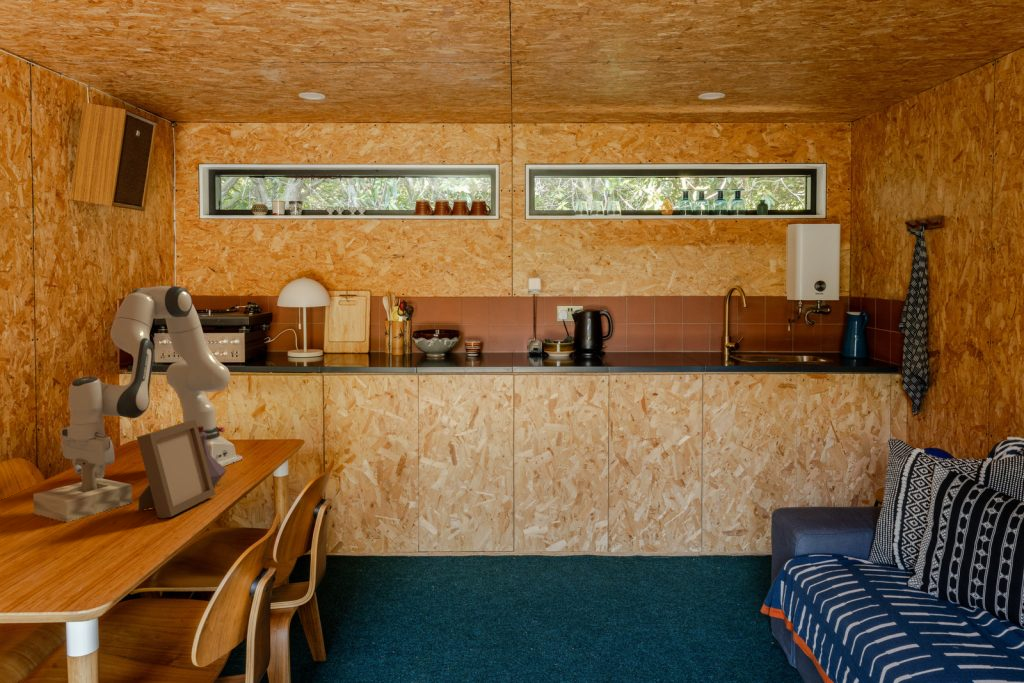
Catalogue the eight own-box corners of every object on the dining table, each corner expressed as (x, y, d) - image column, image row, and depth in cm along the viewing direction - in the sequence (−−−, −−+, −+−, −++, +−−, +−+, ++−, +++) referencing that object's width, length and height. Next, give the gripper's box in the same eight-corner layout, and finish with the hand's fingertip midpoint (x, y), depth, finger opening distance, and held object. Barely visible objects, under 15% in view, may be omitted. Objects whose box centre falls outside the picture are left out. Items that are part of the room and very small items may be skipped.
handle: (97, 509, 219) (95, 460, 217) (75, 509, 218) (72, 460, 216) (105, 503, 223) (102, 456, 222) (83, 503, 223) (80, 456, 221)
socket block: (99, 496, 231) (98, 477, 231) (131, 503, 224) (131, 484, 224) (34, 513, 214) (33, 494, 213) (67, 522, 206) (66, 501, 206)
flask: (173, 494, 234) (171, 433, 232) (175, 481, 249) (173, 424, 247) (228, 489, 240) (226, 429, 238) (226, 476, 255) (224, 420, 254)
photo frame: (215, 497, 230) (211, 420, 228) (171, 519, 209) (167, 434, 207) (173, 495, 233) (169, 419, 231) (126, 517, 212) (121, 433, 210)
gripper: (119, 432, 217) (121, 477, 218) (77, 426, 226) (79, 469, 227) (98, 436, 211) (101, 483, 212) (56, 429, 220) (59, 474, 222)
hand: (89, 476), depth 220 cm, fingers open, 8 cm apart
